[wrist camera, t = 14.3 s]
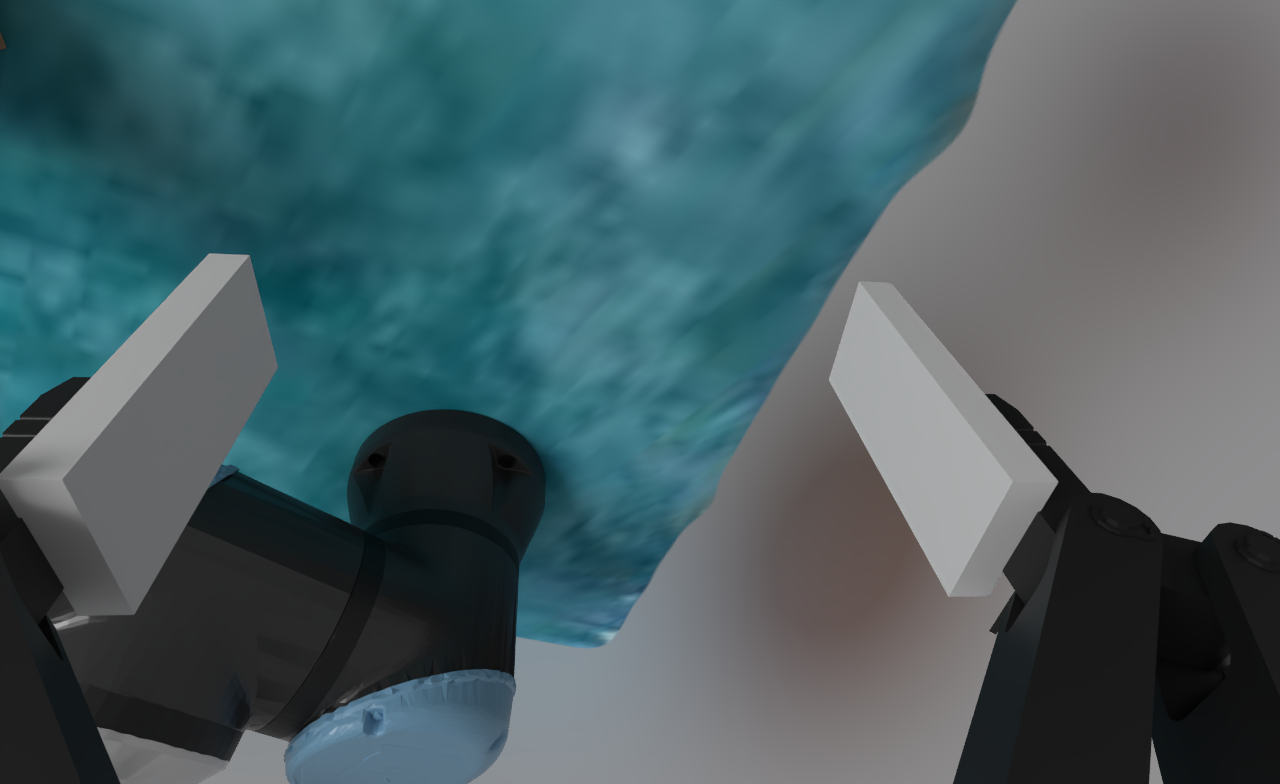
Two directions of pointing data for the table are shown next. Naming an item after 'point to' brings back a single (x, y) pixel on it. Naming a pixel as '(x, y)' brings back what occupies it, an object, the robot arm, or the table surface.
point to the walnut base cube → (2, 43)
